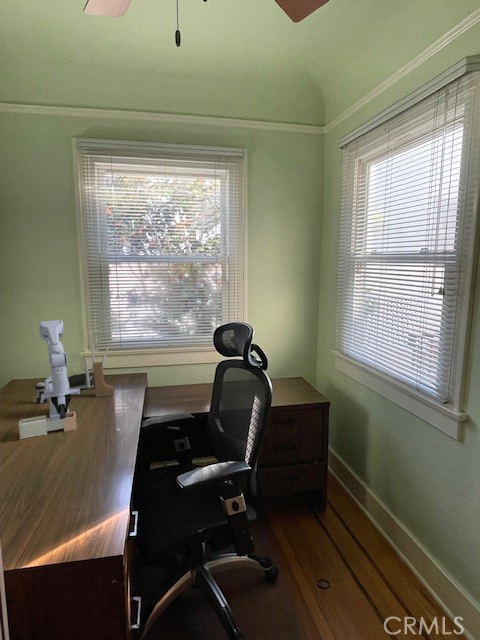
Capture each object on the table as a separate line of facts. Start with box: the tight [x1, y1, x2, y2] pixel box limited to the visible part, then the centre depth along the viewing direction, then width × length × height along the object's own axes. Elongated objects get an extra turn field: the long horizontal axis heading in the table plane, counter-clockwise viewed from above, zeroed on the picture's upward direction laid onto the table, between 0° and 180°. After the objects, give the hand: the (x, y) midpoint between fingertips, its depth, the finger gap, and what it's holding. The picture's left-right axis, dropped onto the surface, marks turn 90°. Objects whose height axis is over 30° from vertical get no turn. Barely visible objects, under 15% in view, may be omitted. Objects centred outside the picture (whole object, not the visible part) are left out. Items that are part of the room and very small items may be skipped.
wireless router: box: [68, 343, 110, 390], centre depth 210 cm, size 34×23×20 cm
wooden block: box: [93, 361, 114, 398], centre depth 190 cm, size 9×4×18 cm, turn 111°
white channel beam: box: [18, 415, 48, 440], centre depth 147 cm, size 6×10×6 cm, turn 118°
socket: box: [63, 411, 78, 432], centre depth 153 cm, size 6×5×6 cm
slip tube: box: [36, 404, 68, 432], centre depth 150 cm, size 4×12×10 cm, turn 118°
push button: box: [33, 381, 49, 404], centre depth 182 cm, size 7×5×10 cm
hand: (62, 412), depth 151 cm, fingers closed on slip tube, 2 cm apart
